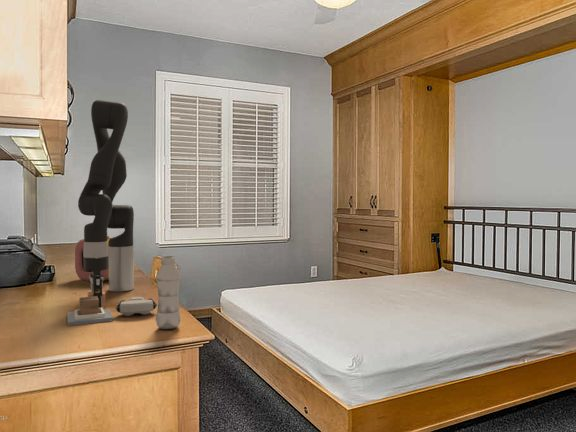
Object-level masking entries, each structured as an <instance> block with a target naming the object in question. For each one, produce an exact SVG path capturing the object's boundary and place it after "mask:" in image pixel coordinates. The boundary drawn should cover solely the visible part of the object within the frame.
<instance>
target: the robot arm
mask: <svg viewBox="0 0 576 432" xmlns="http://www.w3.org/2000/svg"><path fill="white" fill-rule="evenodd" d="M90 108H91V109H90V115H91V122H92V128H93V131H94V132H93V134H94V138H95V142H96V148H97V153H96V154H95V155H94V156H93V158H92V160H91V161H90V162H91V163H90V167H89V173H88V178H87V181H86V183H85V185H84V186H83V189H82V191H81V192H80V195H79V198H78V202H77V204H78V210H79V212H80V213H81V214H82V215H84V216H86V217H87V216H89V217H91V216H92V217H93V216H94V217H93V222H89V223H87V224H85V225H84V227H83V239H84V249H83V254H84V270H85V271H92V273H91V275H90V281H89V288H90V290H91V291H90V292H93V296H98V299H99V308H101V297H102V291H103V289H104V284H103V283H104V281H103V275H102V274H101V271H102V270H107V269H108V267H109V279H108V291H110V292H127V291H133V290H134V287H135V285H134V284H135V281H134V280H135V279H134V278H135V276H134V274H135V273H134V272H135V271H134V270H135V269H134V267H135V265H134V220H135V218H134V216H135V213H134V212H135V211H134V208H133V206H132V205H130V204H113V202H114V199H115V198H116V195H117V194H118V192H119V191H120V190H121V188H122V187H123V185H124V183H125V182H126V179H127V176H128V175H127V162H126V159H125V157H124V155H123V154H122V153H121V151H120V150H119V149H120V146H121V144H122V140H123V137H124V134H125V131H126V128H127V124H128V118H129V110H128V108H127V106H126V104H125V103H123V102H118V101H110V100H102V99H101V100H100V99H98V100H95V101H93V102H92V104H91V107H90ZM108 129H109V130H112V132H111V134H110V135H109V131H108ZM101 191H102V194H100V193H101ZM108 229H115V230H117V229H124V231H123V232H122V233H120V234H119V235H117V236H113V237H109V238H110V239H109V241H108V243H107V236H108ZM108 252H109V266H108ZM97 291H100V292H99V293H95V292H97Z"/></svg>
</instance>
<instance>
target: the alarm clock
mask: <svg viewBox="0 0 576 432" xmlns="http://www.w3.org/2000/svg"><path fill="white" fill-rule="evenodd" d="M110 238H111V237H110V236H109V235H107V243H108V241H109V239H110ZM83 249H84V238H83V239H80V240H78V242H77V243H76V245H75V247H74V269H75V273H76V275H77V277H78V278H79V279H80V280H83V281H86V282H90V275H91V273H92V271H85V270H84V254H83ZM108 266H109V252H108ZM101 274H102V275H103V282H104V281H107V280H108V281H109V267H108V269H107V270H102V271H101Z"/></svg>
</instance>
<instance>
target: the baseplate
mask: <svg viewBox="0 0 576 432" xmlns="http://www.w3.org/2000/svg"><path fill="white" fill-rule="evenodd" d="M66 318H67V319H66V320H67V321H66V322H67V327H71V326H79V325H86V324H87V325H88V324H95V323H104V322H113V321H114V317H113V315H112V313H111V310H110V308H106V309H103V308H99V313H98V314H88V315H80V309H74V311H71V312H66Z"/></svg>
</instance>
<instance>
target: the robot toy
mask: <svg viewBox="0 0 576 432" xmlns="http://www.w3.org/2000/svg"><path fill="white" fill-rule="evenodd" d="M114 306H115V310H117V311H118V312H119V313H120V314H123V315H124V316H126V317H130V316H131V315H132V316H133V315H135V314H140V315H142V316H146V314H147V315H149V314H150V312H153V311H154V310H155V309H156V308H157V307H158V302H157V303H156V301H155V299H153V298H148V299H145V298H144V297H143V296H135V297H133V296H132V297H130V298H129V299H128V300H124V299H123V300H120V301H118V304H117V305H114Z"/></svg>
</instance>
